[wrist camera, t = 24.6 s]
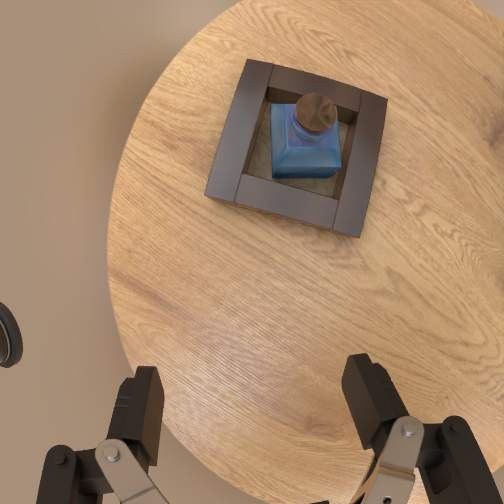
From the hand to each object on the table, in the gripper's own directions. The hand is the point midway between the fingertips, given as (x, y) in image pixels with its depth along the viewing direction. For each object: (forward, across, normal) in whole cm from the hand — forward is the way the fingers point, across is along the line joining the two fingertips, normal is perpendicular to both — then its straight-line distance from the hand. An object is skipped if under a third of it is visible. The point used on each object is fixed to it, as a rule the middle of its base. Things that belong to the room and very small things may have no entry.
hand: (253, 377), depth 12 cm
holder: (+25, -7, -6) cm, 27 cm away
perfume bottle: (+25, -7, -6) cm, 27 cm away
